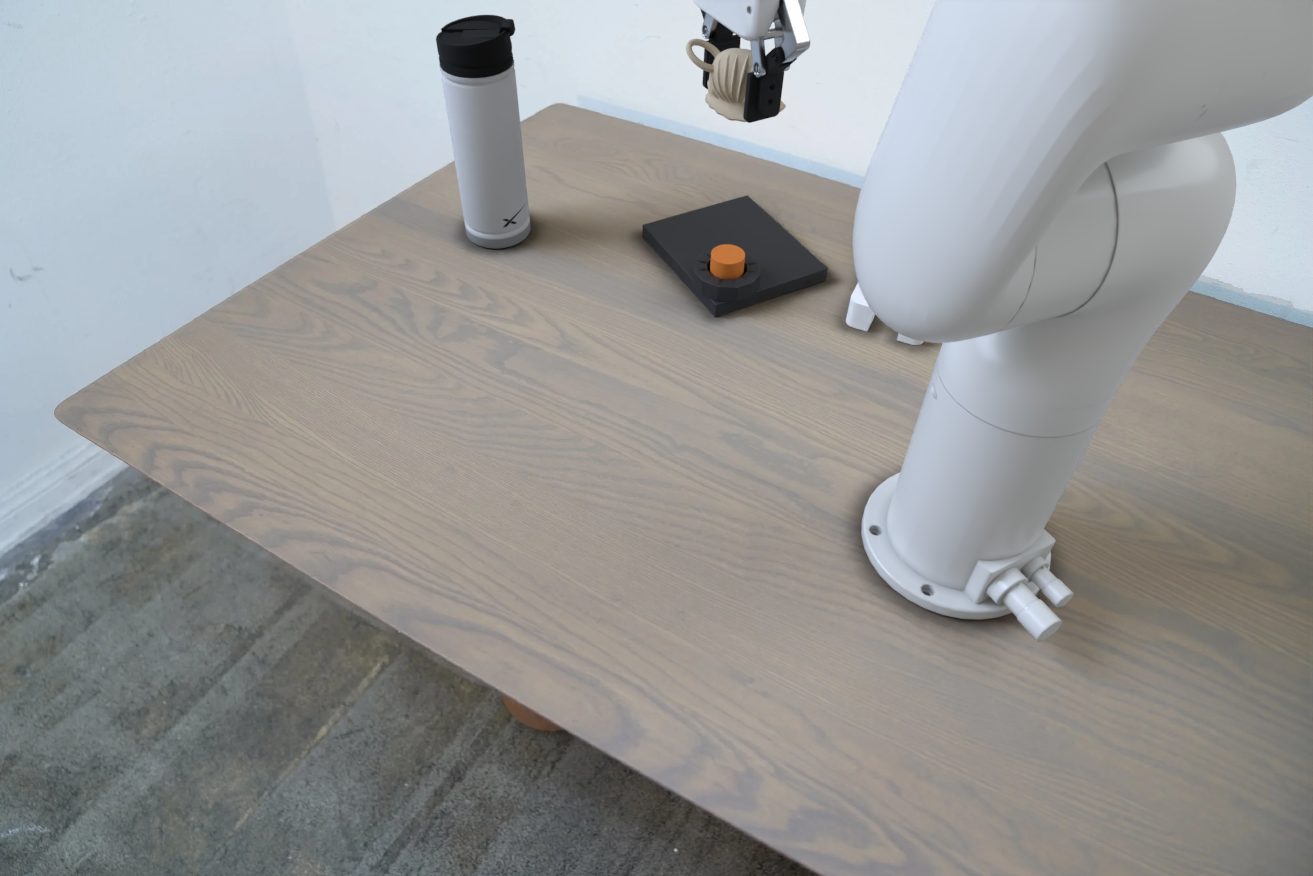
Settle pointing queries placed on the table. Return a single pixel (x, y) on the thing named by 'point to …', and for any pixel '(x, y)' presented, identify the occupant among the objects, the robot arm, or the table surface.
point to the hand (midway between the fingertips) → (740, 99)
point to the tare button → (727, 261)
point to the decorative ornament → (725, 78)
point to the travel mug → (485, 128)
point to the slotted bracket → (866, 315)
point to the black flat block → (739, 222)
